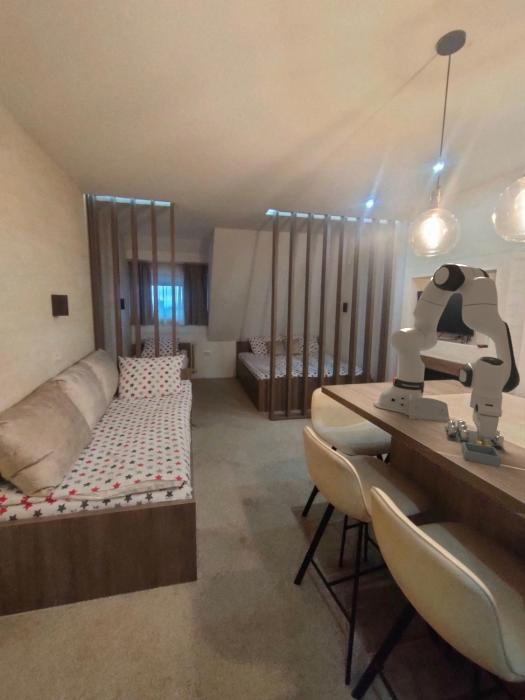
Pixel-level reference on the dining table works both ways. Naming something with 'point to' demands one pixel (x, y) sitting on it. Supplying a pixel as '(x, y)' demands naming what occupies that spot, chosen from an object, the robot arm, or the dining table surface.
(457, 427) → the spacers
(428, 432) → the dining table surface
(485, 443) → the knob
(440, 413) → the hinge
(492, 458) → the tray
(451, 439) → the mat
